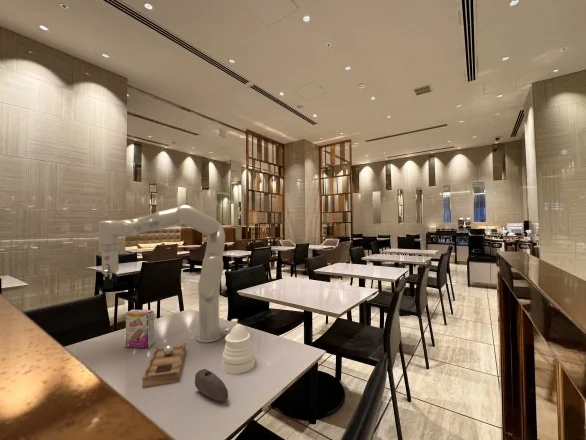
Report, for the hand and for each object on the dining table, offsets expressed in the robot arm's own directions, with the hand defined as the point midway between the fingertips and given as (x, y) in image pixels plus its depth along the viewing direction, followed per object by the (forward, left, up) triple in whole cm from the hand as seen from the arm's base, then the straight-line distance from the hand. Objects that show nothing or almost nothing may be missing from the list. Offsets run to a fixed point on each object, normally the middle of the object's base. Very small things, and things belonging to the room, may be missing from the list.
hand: (110, 285), depth 125 cm
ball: (-26, +17, -25) cm, 40 cm away
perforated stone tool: (-44, +46, -30) cm, 70 cm away
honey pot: (-54, +29, -30) cm, 68 cm away
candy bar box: (-11, -1, -30) cm, 32 cm away
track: (-26, +22, -30) cm, 45 cm away
